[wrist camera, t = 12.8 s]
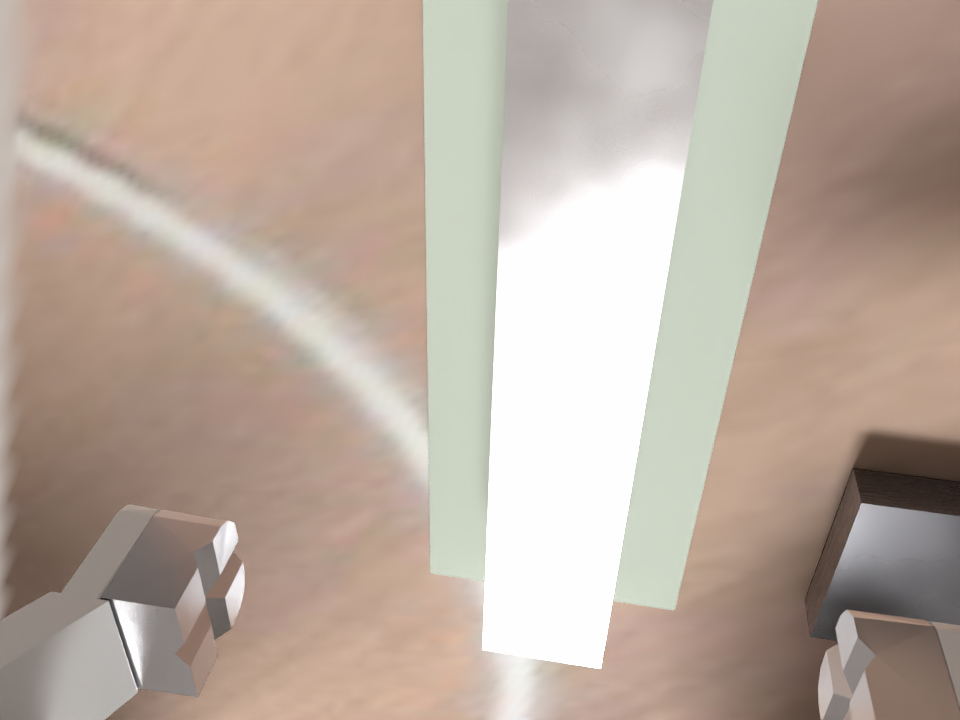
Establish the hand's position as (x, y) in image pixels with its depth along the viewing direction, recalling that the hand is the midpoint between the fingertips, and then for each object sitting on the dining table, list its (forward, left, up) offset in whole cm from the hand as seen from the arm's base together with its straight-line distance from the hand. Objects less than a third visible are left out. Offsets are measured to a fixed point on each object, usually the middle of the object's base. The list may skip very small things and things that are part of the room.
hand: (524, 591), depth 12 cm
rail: (0, 0, -9) cm, 9 cm away
